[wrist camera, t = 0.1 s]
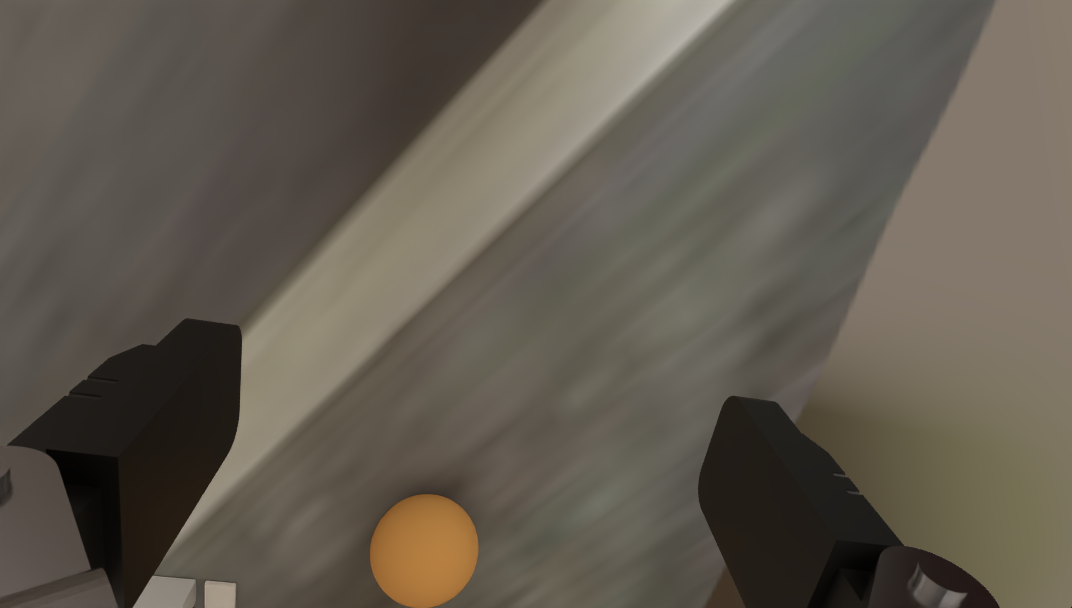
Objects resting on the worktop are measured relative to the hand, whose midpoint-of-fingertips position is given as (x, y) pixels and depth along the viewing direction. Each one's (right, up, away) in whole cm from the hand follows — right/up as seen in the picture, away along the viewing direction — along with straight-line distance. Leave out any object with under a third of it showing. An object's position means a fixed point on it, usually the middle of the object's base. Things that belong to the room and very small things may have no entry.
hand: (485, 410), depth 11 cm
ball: (-4, -10, +20) cm, 23 cm away
